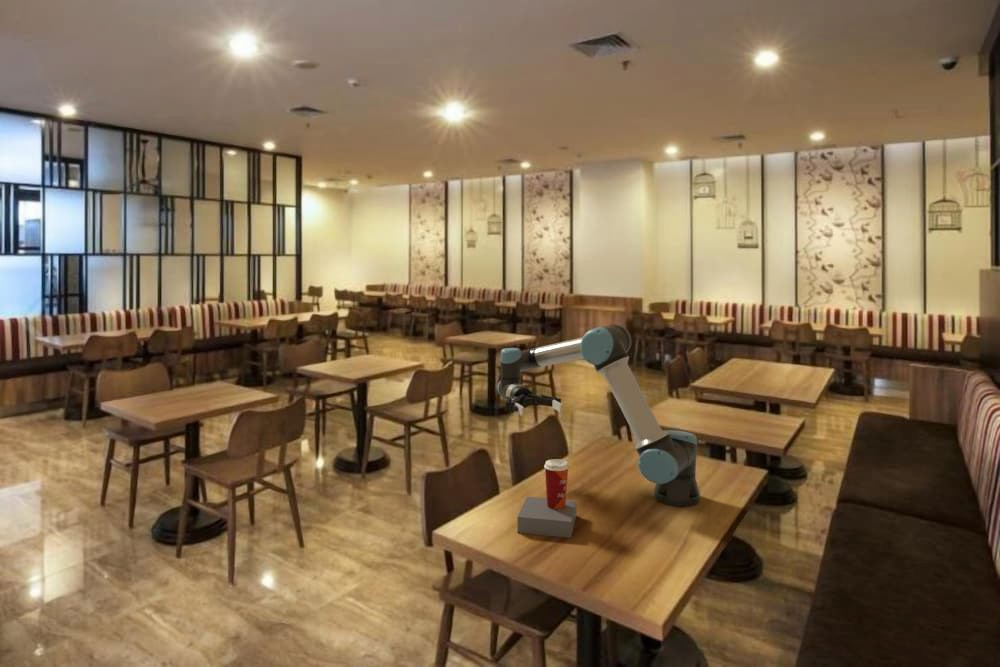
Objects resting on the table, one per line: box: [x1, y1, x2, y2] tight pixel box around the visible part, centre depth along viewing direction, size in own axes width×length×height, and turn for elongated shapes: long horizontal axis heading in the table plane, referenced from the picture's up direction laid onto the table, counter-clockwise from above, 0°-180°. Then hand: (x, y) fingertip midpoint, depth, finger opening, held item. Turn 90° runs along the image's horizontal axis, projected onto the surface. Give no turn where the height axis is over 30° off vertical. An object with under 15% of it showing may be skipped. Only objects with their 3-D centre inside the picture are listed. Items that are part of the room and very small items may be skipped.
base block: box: [517, 496, 578, 539], centre depth 194 cm, size 16×16×5 cm
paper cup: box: [543, 458, 570, 510], centre depth 195 cm, size 8×8×14 cm
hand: (542, 410), depth 206 cm, fingers open, 13 cm apart
